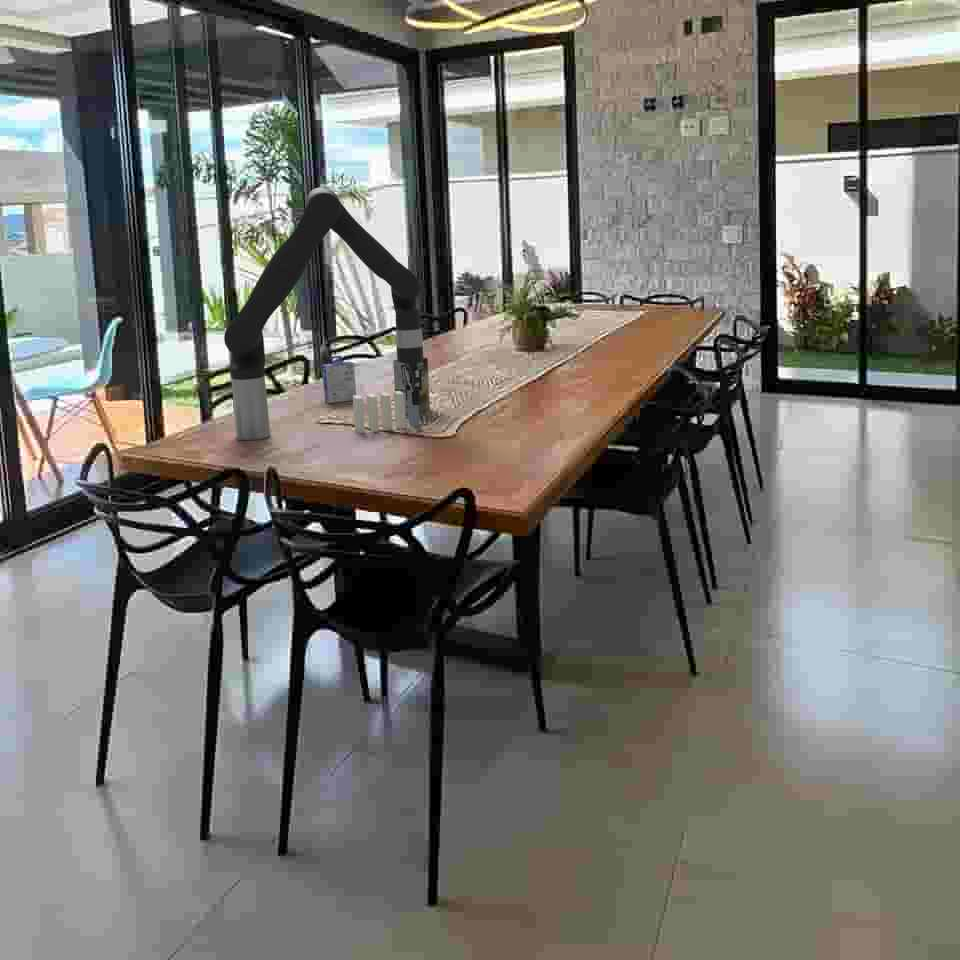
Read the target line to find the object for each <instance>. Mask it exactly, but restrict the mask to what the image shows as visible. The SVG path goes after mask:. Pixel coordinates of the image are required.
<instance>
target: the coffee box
mask: <svg viewBox="0 0 960 960" xmlns="http://www.w3.org/2000/svg"><path fill="white" fill-rule="evenodd" d="M392 361H393V362H392V363H393V366H392V367H393V382H394V383H393V385H394V391H401V392H402V393H404V400H405V415H408V401H407V400H406V392H405V387H404V385H403V384H402V371H401V364H404V363H400V362H398V361H397V359H394V360H392ZM428 361H429V360H428V357H424V359H423V361H421V362H418V363H417V366H418V368H419V370H421V371H422V373H421V375H422V390H420V404H419V405H418V409H419V413H420V412H423V411H424V412H425V411H428V410H430V409H431V403H430V402H431V400H430V399H431V398H430V384H429V382H430V380H429V379H430V378H429V364H428V363H429V362H428ZM415 387H417V385H416V384H415Z"/></svg>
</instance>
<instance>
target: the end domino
mask: <svg viewBox="0 0 960 960" xmlns="http://www.w3.org/2000/svg"><path fill="white" fill-rule="evenodd" d="M407 399H408V414H407V415H408V424H409V425H410V426H411V425H412V426H413V428H418V427H417V426H420V412H419V409H418V405H413V404H412V394H411V390H407ZM412 426H411V427H412Z"/></svg>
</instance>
